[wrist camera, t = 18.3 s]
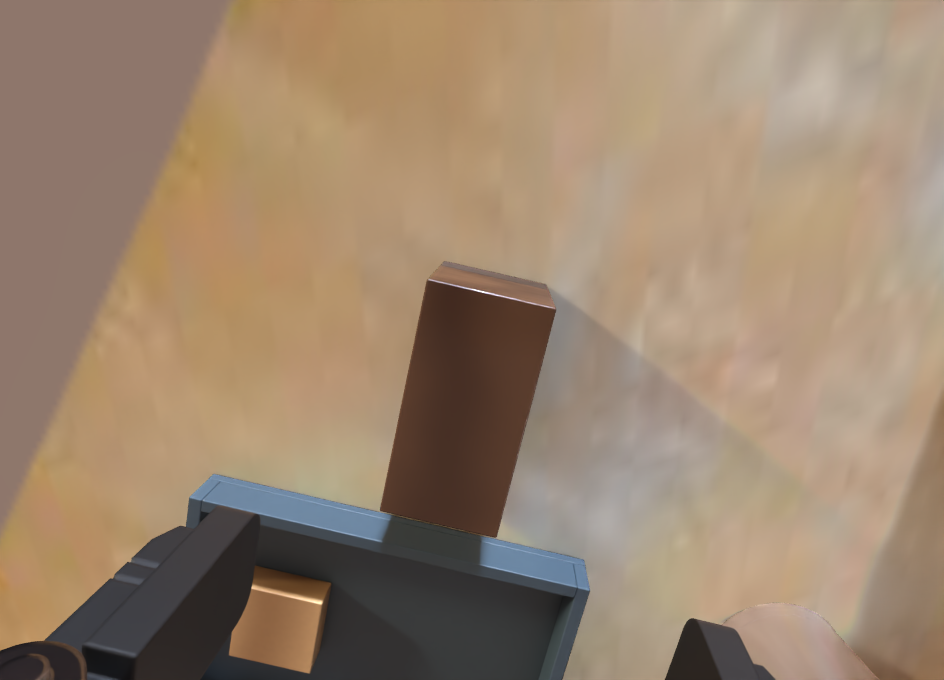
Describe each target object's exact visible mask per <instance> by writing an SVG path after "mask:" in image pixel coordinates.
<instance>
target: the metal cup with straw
mask: <svg viewBox="0 0 944 680" xmlns="http://www.w3.org/2000/svg"><path fill="white" fill-rule="evenodd" d="M722 625H723V626H727V627H731V628H734V629H735V630H736V631H737V632H738V634H739V635H740V637H741V639H742V641H743V643H744V645H745V647H746V650H747V652H748V654H749V656H750V658H751V660H752V662H753V664H757V665H762V666H764V667H765V668H766V669H767V671H768V672H769V673H770V674H771V675H772V676H773V677H774V678H775V679H776V680H879V679H878V678H877V677H876V676H875V675H874V674H873V673H872V672H871V670H870V669H869V668H868V667H867V666H866V665H865V664H864V663H863V662H862V660H861V659H860V658H859V657H858V656H857V655H856V654H855V653H854V652H853V650H852V649H851V648H850V647H849V646H848V645H847V644H846V643H845V642H844V640H843V639H842V638H841V637H840V636H839V635H838V634H837V633H836V631H835V630H834V628H833V627H832V626H831V625H830V624H829V622H827V621H826V620H825V619H824V618H823V617H822V616H820V615H819V614H817V613H816V612H814V611H812V610H810V609H808V608H805V607H802V606H799V605H795V604H790V603H765V604H760V605H756V606H752V607H749V608H747V609H744V610H742V611H740V612H738V613H736V614H735V615H733V616H732V617H730V618H729V619H728V620H726V621H725V622H724V623H723V624H722Z"/></svg>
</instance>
